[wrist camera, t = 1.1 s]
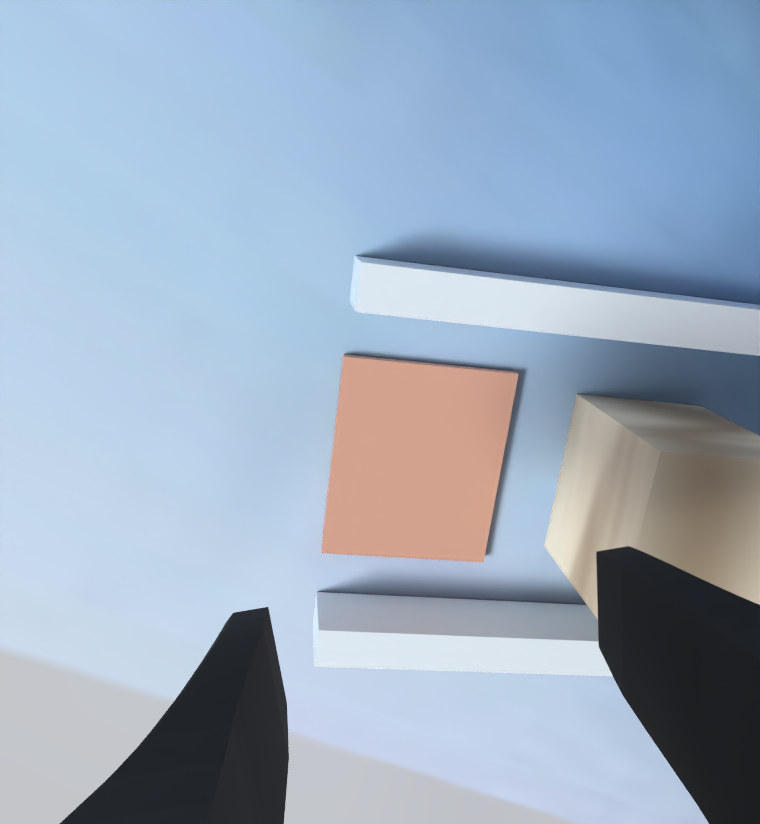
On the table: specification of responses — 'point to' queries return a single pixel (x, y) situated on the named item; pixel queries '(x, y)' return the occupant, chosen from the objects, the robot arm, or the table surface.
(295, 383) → the table surface
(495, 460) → the trap channel
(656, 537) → the pale gold metal block
